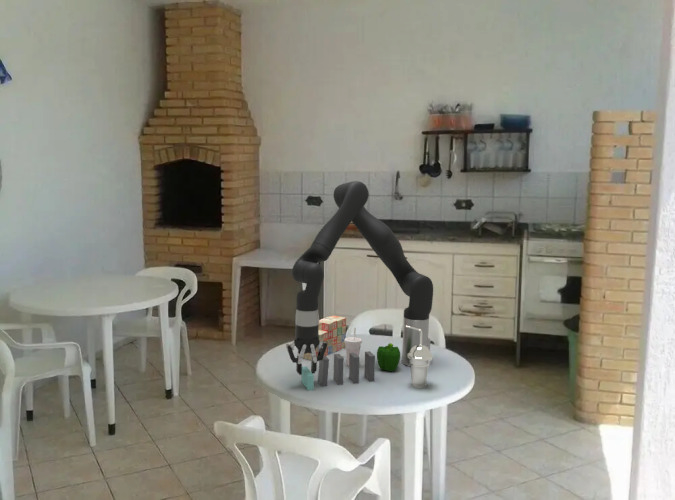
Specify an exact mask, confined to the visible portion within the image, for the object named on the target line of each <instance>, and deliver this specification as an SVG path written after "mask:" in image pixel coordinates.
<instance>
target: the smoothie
mask: <svg viewBox="0 0 675 500" xmlns="http://www.w3.org/2000/svg"><path fill="white" fill-rule="evenodd" d="M344 342H345V355H346V356H345V358H346V364H347V365H346V366H348V367H349V355H350V353H356V354H357V355H358V356H359V357H360V352H361V345H362V343H363V340H362V338H360V337H356V327H354V328H353V336H348V337H346V338H345V339H344Z"/></svg>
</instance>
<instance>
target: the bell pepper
mask: <svg viewBox="0 0 675 500" xmlns="http://www.w3.org/2000/svg"><path fill="white" fill-rule="evenodd" d="M376 360H377V361H376V362H377V365H378V367H379V369H380V370H382V371H386V372H395V371H396V370H397V368H398V367H399V364H400V360H401V351H400V348H399V347H398V346H394V344H393V343H391V342H390V343H388V344H387V345H385V346H382V345H381V346H378V348H377V351H376Z"/></svg>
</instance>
